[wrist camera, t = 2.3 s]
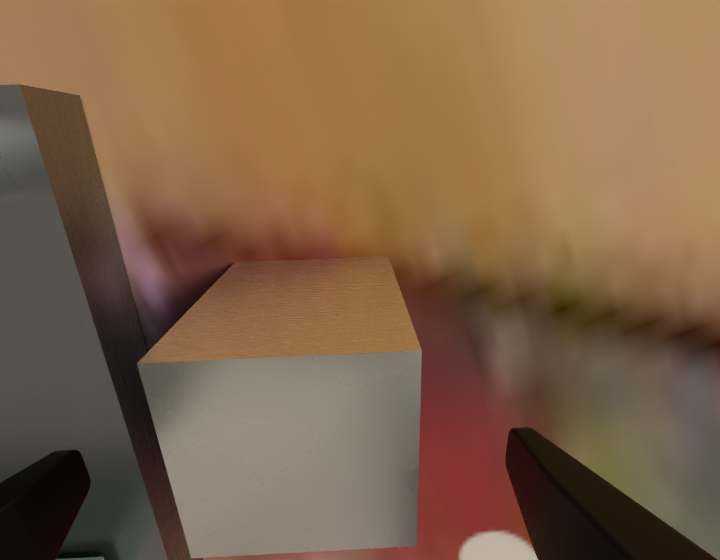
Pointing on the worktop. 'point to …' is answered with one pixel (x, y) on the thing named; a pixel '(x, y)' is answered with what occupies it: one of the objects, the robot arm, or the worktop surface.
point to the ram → (88, 559)
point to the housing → (291, 409)
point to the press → (74, 334)
